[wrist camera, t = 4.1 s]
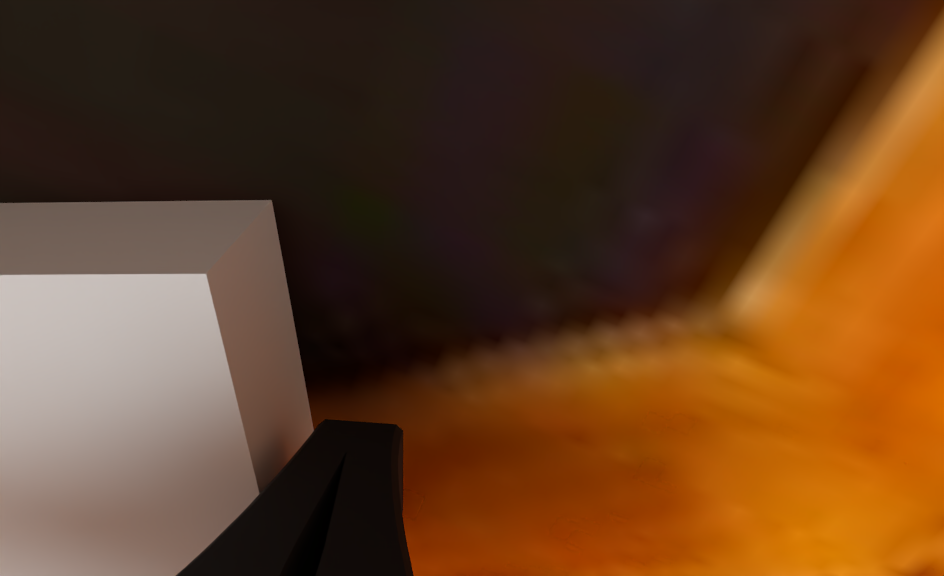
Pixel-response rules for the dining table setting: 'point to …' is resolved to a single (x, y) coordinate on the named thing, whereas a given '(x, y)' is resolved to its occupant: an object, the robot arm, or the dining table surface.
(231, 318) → the pale grey box
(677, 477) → the dining table surface
